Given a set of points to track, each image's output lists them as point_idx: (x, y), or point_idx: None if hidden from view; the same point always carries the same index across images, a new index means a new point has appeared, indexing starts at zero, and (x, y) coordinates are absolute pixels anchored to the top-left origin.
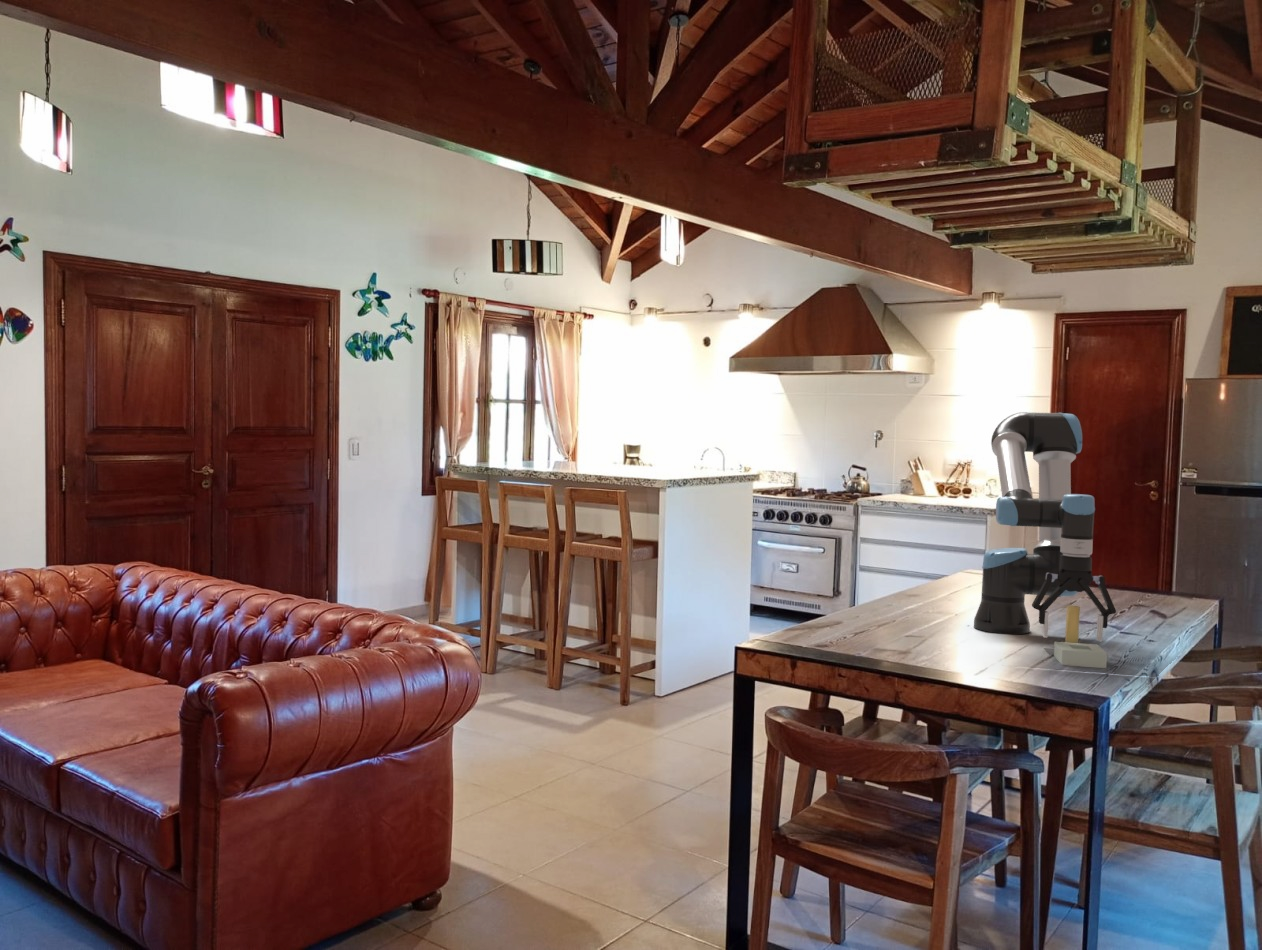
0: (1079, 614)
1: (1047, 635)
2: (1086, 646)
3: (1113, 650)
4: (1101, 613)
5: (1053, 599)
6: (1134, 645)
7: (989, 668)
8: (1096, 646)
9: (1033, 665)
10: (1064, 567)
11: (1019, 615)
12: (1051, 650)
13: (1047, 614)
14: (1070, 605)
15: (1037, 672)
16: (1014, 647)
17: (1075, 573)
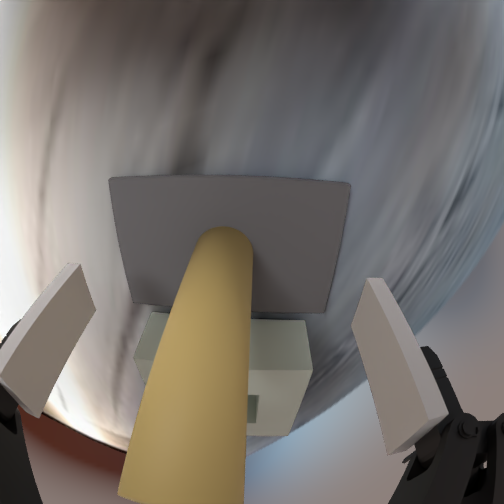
0: (243, 458)
1: (90, 318)
2: (253, 392)
3: (459, 89)
4: (438, 435)
5: (32, 500)
6: None
7: (62, 390)
8: (292, 394)
9: (115, 378)
10: None
11: None
12: (139, 225)
13: (39, 407)
14: (145, 500)
15: (133, 411)
16: (27, 168)
17: None
